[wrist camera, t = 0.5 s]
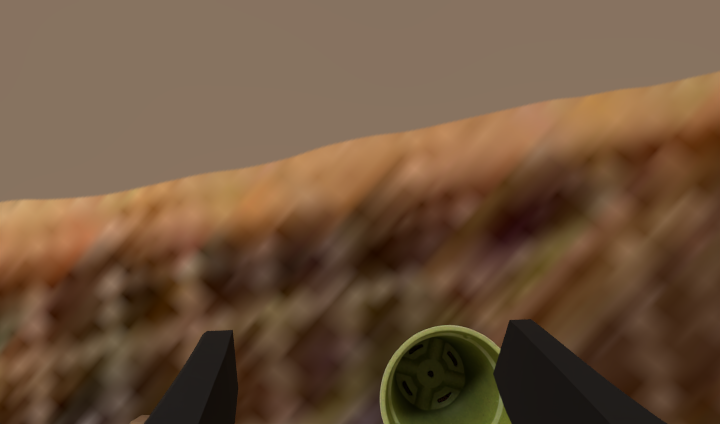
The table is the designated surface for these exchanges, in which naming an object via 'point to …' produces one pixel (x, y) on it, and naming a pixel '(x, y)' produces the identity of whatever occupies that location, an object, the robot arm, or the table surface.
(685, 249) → the table surface
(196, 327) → the table surface
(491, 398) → the plant pot
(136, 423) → the walnut board
